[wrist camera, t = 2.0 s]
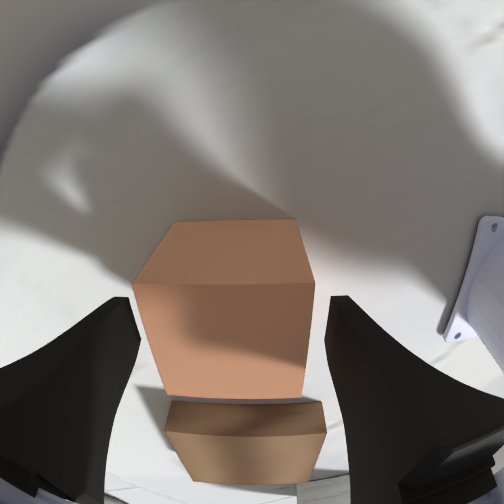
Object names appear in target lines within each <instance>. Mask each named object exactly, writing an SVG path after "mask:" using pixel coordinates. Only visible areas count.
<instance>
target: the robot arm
mask: <svg viewBox="0 0 504 504" xmlns="http://www.w3.org/2000/svg"><path fill="white" fill-rule="evenodd" d="M492 225H493V227H492ZM491 227H492V228H491ZM478 336H479V338H480V339H481V341H482V342H483V343H484V345H485V346H486V348H487V349H488V351H489V352H490V353H491V355H492V356H493V358H494V359H495V361H496V362H497V364H498V365H499V367H500V368H501V370H502V372H503V373H504V217H499V216H484V217H483V218H481V220H480V222H479V225H478V229H477V234H476V238H475V242H474V246H473V250H472V253H471V257H470V261H469V264H468V267H467V271H466V274H465V277H464V280H463V284H462V287H461V290H460V293H459V295H458V298H457V301H456V304H455V307H454V309H453V312H452V315H451V317H450V320H449V322H448V325H447V327H446V330H445V332H444V334H443V339H444V340H445V342H447V343H450V342H455V341H460V340H464V339H469V338H473V337H478ZM324 341H325V348H326V355H327V361H328V366H329V370H330V374H331V377H332V381H333V384H334V388H335V392H336V395H337V399H338V402H339V406H340V410H341V413H342V418H343V423H344V428H345V436H346V444H347V453H348V463H349V476H350V504H504V468H502V469H500V470H499V471H497V472H496V473H495V474H493V473H492V470H491V467H493V466H494V465H495V461H494V458H493V456H492V455H493V454H495V453H496V452H497V451H498V450H499V449H500V448H501V447H502V446H503V445H504V399H503V398H500V397H497V396H494V395H491V394H488V393H485V392H482V391H480V390H477V389H475V388H473V387H470V386H468V385H466V384H464V383H462V382H459V381H457V380H455V379H453V378H451V377H450V376H448V375H446V374H444V373H443V372H441V371H439V370H437V369H436V368H434V367H432V366H431V365H429V364H428V363H426V362H425V361H423V360H422V359H420V358H419V357H417V356H416V355H414V354H413V353H412V352H410V351H409V350H408V349H406V348H405V347H404V346H403V345H401V344H400V343H399V342H398V341H396V340H395V339H394V338H393V337H392V336H390V335H389V334H388V333H387V332H386V331H385V330H384V329H383V328H381V327H380V326H379V325H378V324H377V323H376V322H375V321H374V320H373V319H372V318H371V317H370V316H369V315H368V314H367V313H366V312H364V311H363V310H362V309H361V308H360V307H359V306H358V305H357V304H356V303H355V302H354V301H353V300H352V299H351V298H350V297H349V296H348V295H346V296H331V299H330V306H329V313H328V320H327V326H326V333H325V339H324ZM140 342H141V337H140V334H139V331H138V328H137V325H136V322H135V318H134V315H133V312H132V309H131V305H130V302H129V298H128V297H113V298H111V299H110V300H108V301H107V302H105V303H104V304H102V305H101V306H99V307H98V308H97V309H95V310H94V311H93V312H91V313H90V314H89V315H87V316H86V317H85V318H83V319H82V320H81V321H79V322H78V323H77V324H75V325H74V326H73V327H71V328H70V329H68V330H67V331H65V332H64V333H63V334H61V335H60V336H58V337H57V338H56V339H54V340H53V341H51V342H50V343H48V344H46V345H45V346H43V347H42V348H40V349H38V350H36V351H35V352H33V353H31V354H29V355H27V356H25V357H23V358H21V359H19V360H17V361H15V362H13V363H11V364H9V365H7V366H4V367H2V368H0V504H74V503H78V504H104V482H105V470H106V460H107V453H108V447H109V441H110V436H111V431H112V427H113V422H114V418H115V415H116V412H117V408H118V406H119V403H120V400H121V398H122V395H123V393H124V390H125V388H126V385H127V383H128V380H129V377H130V375H131V372H132V370H133V367H134V365H135V362H136V358H137V354H138V350H139V346H140ZM65 499H66V500H65ZM67 500H69V501H71V502H74V503H71V502H69V501H67Z"/></svg>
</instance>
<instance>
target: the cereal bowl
mask: <svg viewBox="0 0 504 504" xmlns="http://www.w3.org/2000/svg"><path fill="white" fill-rule="evenodd" d="M69 502H71V501H69ZM71 503H74V502H71ZM74 504H78V503H74ZM104 504H125V503H123V502H121V501H119V500H116V499H114V498H111V497H108V496H105V495H104Z"/></svg>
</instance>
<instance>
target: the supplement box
mask: <svg viewBox="0 0 504 504" xmlns="http://www.w3.org/2000/svg"><path fill="white" fill-rule="evenodd" d="M296 492H297V504H350V476H349V474H348V475H343V476H339V477H334V478H328V479H323V480H317V481H311V482H307V483H298V484H296Z"/></svg>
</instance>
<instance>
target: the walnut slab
mask: <svg viewBox="0 0 504 504" xmlns="http://www.w3.org/2000/svg"><path fill="white" fill-rule="evenodd" d="M164 431H165V433H166V435H167V437H168V439H169V441H170V442H171V444H172V446H173V448H174V450H175V451H176V453H177V455H178V457H179V458H180V460H181V462H182V464H183V465H184V467H185V469H186V470H187V472H188V474H189V475H190V477H191V478H192V480H193V481H196V482H206V483H219V484H241V485H273V484H294V483H307V482H308V481H309V479H310V476H311V474H312V471H313V469H314V466H315V464H316V461H317V459H318V456H319V453H320V451H321V448H322V445H323V443H324V440H325V437H326V434H327V430H326V424H325V418H324V411H323V406H322V402H310V403H293V404H254V405H251V404H212V403H195V402H182V401H172V402H171V406H170V410H169V414H168V418H167V422H166V426H165V430H164Z"/></svg>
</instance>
